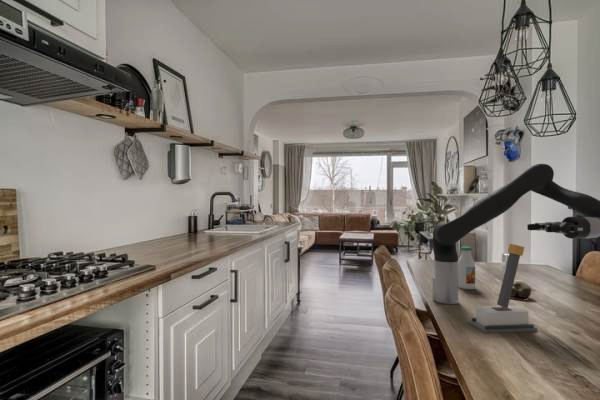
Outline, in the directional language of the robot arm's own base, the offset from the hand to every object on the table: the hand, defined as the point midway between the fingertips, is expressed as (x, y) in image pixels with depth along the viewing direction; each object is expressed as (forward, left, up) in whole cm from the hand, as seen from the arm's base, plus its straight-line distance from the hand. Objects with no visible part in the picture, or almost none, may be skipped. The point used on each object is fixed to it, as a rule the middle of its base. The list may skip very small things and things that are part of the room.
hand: (537, 227), depth 117 cm
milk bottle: (-42, +29, -33) cm, 61 cm away
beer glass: (-34, +55, -33) cm, 72 cm away
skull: (-20, +31, -33) cm, 50 cm away
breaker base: (-6, -12, -33) cm, 36 cm away
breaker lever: (-6, -12, -27) cm, 30 cm away
